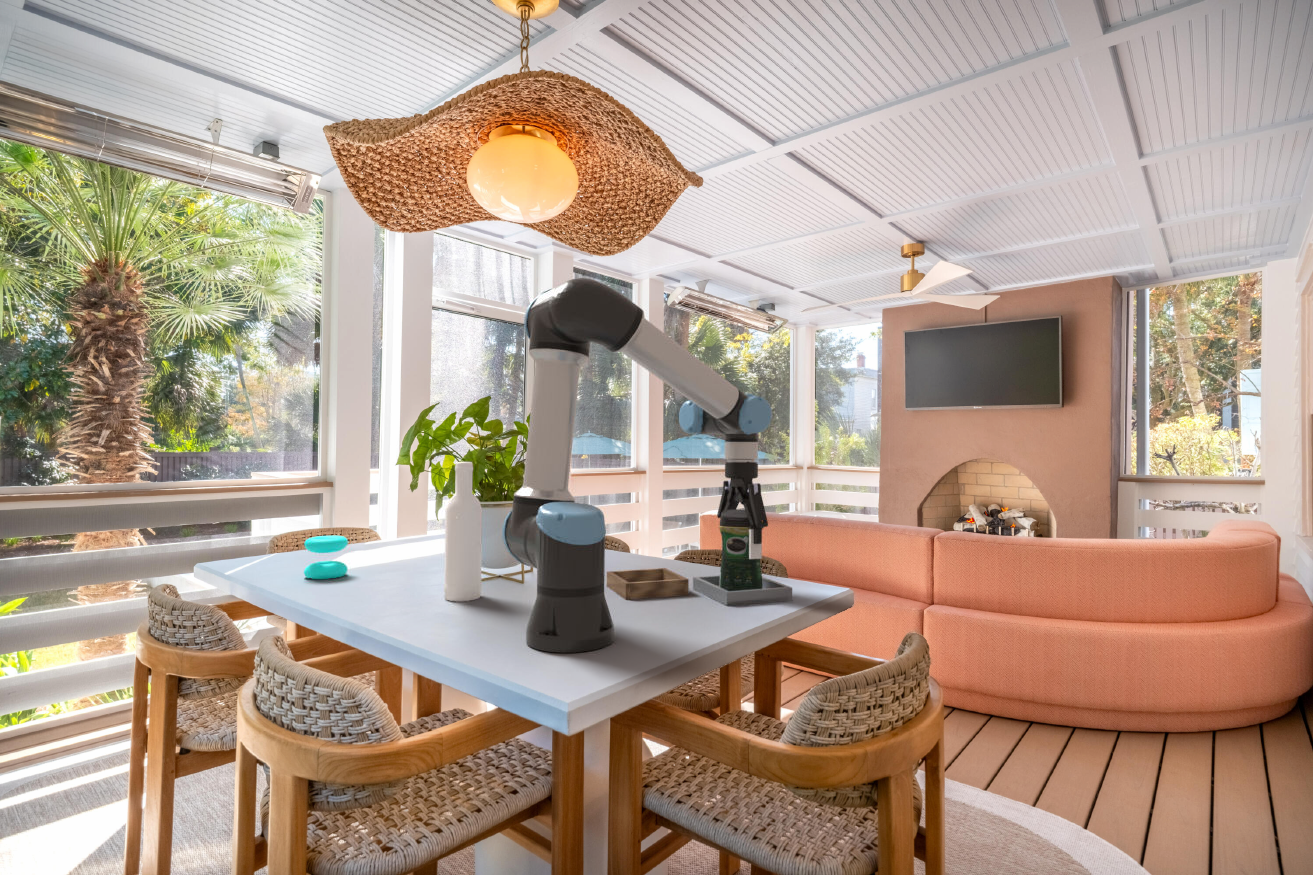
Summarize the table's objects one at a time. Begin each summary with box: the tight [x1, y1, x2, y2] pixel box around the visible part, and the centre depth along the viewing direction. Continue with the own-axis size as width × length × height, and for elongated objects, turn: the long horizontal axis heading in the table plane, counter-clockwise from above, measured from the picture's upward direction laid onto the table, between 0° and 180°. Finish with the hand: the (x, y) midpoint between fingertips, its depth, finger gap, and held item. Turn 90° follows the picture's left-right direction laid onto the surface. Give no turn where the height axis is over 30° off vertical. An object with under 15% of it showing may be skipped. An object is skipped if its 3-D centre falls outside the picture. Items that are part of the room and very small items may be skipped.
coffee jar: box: [718, 509, 763, 591], centre depth 154 cm, size 10×8×19 cm
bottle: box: [443, 461, 483, 602], centre depth 149 cm, size 8×8×30 cm
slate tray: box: [692, 574, 793, 607], centre depth 154 cm, size 16×18×3 cm
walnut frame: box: [606, 567, 690, 600], centre depth 158 cm, size 15×15×4 cm
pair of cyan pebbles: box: [303, 535, 349, 580], centre depth 172 cm, size 10×10×10 cm
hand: (741, 553), depth 154 cm, fingers open, 13 cm apart
